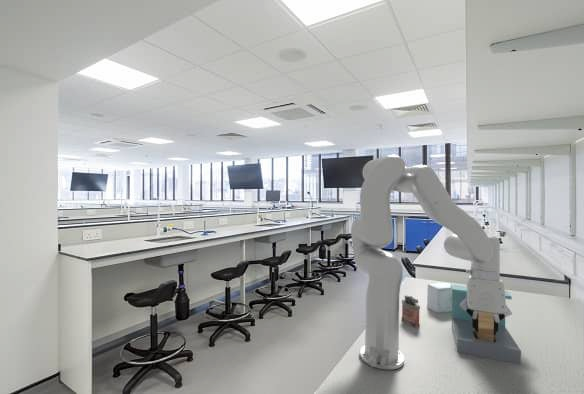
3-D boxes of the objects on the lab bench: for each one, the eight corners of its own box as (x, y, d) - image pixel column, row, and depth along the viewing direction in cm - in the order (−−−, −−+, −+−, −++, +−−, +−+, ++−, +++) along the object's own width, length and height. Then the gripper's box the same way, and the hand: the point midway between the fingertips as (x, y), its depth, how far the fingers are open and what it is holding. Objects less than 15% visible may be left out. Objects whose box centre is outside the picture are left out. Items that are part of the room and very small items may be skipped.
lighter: (399, 319, 113) (399, 293, 113) (406, 318, 114) (406, 293, 114) (414, 328, 106) (415, 300, 106) (422, 326, 107) (422, 299, 107)
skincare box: (438, 313, 120) (438, 288, 120) (426, 307, 126) (426, 283, 126) (457, 310, 123) (458, 286, 123) (445, 305, 129) (446, 281, 129)
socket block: (522, 364, 83) (523, 309, 83) (455, 351, 90) (455, 299, 90) (506, 337, 99) (506, 291, 99) (450, 327, 106) (450, 284, 106)
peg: (493, 345, 89) (493, 313, 89) (478, 342, 90) (478, 311, 90) (490, 339, 92) (491, 308, 92) (476, 337, 94) (476, 306, 94)
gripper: (456, 274, 91) (456, 331, 91) (521, 280, 85) (521, 342, 84) (453, 268, 98) (453, 322, 98) (513, 274, 91) (513, 332, 91)
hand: (484, 331), depth 91 cm, fingers closed on peg, 4 cm apart
